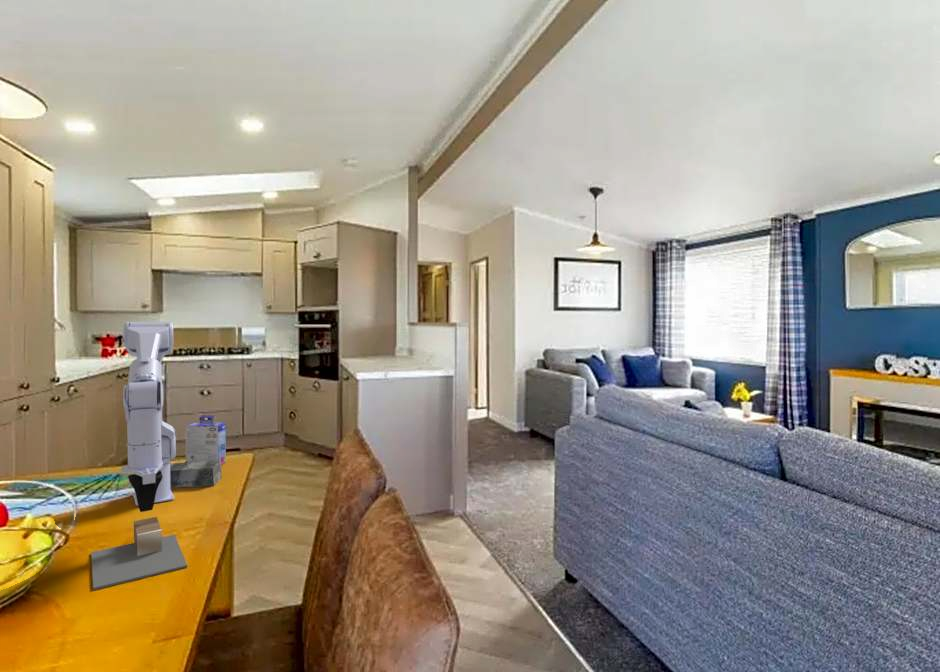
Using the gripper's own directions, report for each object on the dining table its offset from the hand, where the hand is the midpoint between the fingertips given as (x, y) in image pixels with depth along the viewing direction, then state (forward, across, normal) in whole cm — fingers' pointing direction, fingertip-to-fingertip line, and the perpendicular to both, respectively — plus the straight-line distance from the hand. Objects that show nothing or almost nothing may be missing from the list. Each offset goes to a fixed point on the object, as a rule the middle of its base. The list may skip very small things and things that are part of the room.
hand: (146, 510), depth 106 cm
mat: (+7, +7, -2) cm, 10 cm away
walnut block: (+4, -2, 0) cm, 5 cm away
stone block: (+8, -37, +13) cm, 40 cm away
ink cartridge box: (+7, -52, +20) cm, 56 cm away
